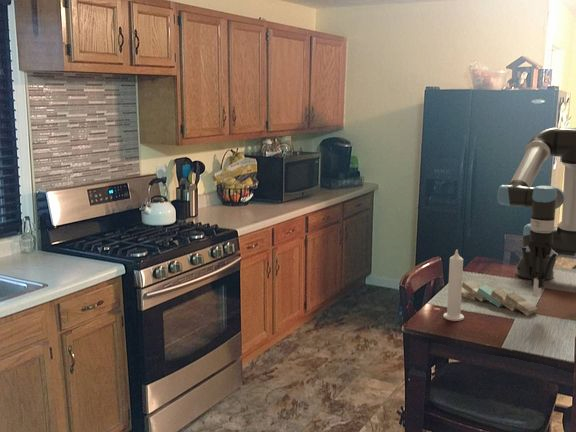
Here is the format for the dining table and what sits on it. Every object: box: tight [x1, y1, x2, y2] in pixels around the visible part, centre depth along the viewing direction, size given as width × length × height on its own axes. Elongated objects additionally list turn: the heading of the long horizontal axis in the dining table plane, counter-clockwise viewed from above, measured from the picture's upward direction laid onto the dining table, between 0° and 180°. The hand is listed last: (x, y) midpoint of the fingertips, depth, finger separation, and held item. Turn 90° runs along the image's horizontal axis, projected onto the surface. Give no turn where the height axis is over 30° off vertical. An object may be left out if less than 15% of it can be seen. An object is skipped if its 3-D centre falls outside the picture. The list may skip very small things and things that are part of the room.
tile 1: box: [505, 291, 538, 317], centre depth 213 cm, size 2×5×10 cm
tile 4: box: [462, 279, 487, 302], centre depth 227 cm, size 2×5×10 cm
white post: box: [443, 249, 465, 322], centre depth 206 cm, size 7×7×25 cm
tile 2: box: [491, 287, 518, 312], centre depth 218 cm, size 2×5×10 cm
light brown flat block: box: [461, 288, 478, 301], centre depth 231 cm, size 2×5×10 cm
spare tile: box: [477, 284, 504, 308], centre depth 222 cm, size 2×5×10 cm
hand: (536, 295), depth 208 cm, fingers closed
